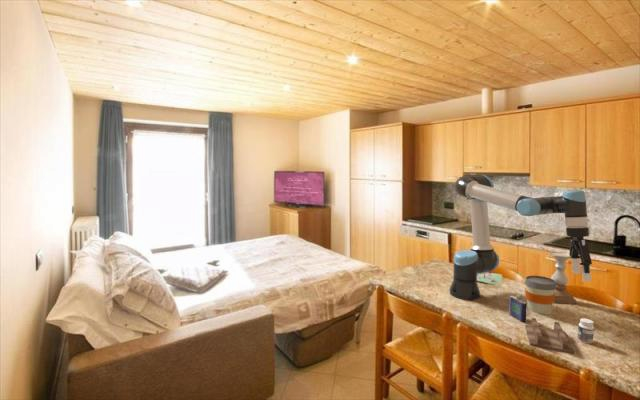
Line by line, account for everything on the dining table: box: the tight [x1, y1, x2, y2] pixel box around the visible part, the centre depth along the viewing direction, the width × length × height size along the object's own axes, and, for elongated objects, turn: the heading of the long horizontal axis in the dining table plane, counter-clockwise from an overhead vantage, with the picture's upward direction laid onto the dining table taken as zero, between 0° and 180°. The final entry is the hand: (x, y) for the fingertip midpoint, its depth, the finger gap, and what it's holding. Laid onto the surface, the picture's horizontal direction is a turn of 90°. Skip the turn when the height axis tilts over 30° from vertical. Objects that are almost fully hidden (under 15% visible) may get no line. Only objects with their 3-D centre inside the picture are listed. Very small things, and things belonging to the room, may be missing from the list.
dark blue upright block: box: [508, 295, 528, 324], centre depth 147 cm, size 9×3×11 cm, turn 8°
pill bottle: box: [577, 317, 595, 344], centre depth 128 cm, size 5×5×8 cm
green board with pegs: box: [477, 272, 503, 285], centre depth 201 cm, size 25×21×9 cm
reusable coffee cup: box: [524, 275, 556, 315], centre depth 155 cm, size 13×13×15 cm
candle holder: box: [548, 251, 577, 305], centre depth 167 cm, size 11×11×24 cm
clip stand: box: [524, 317, 576, 355], centre depth 129 cm, size 16×14×4 cm
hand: (581, 277), depth 136 cm, fingers open, 13 cm apart
